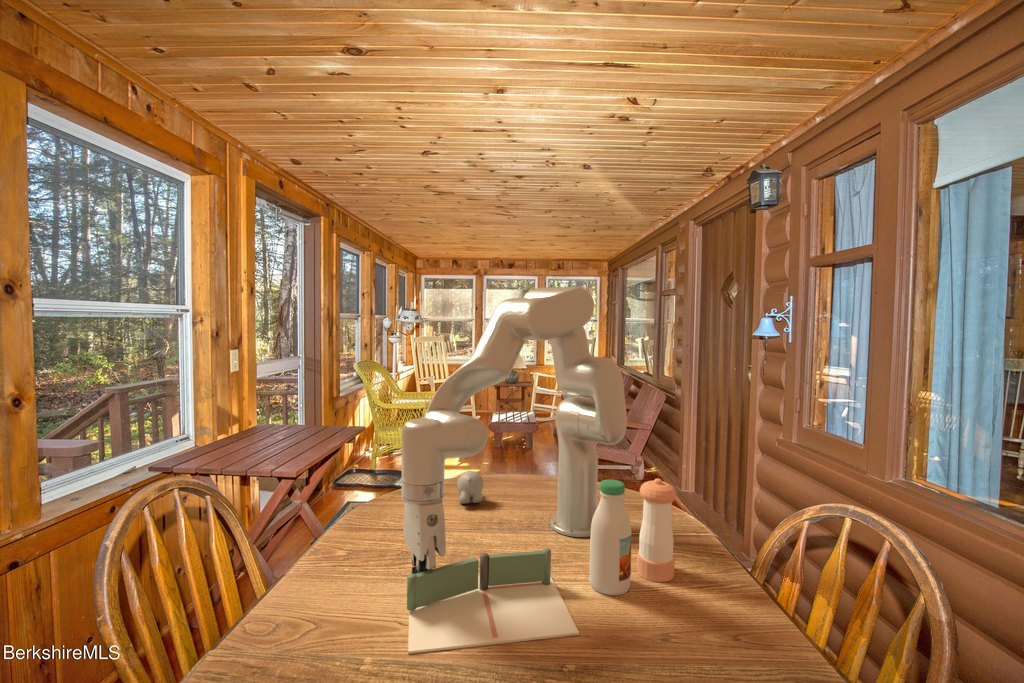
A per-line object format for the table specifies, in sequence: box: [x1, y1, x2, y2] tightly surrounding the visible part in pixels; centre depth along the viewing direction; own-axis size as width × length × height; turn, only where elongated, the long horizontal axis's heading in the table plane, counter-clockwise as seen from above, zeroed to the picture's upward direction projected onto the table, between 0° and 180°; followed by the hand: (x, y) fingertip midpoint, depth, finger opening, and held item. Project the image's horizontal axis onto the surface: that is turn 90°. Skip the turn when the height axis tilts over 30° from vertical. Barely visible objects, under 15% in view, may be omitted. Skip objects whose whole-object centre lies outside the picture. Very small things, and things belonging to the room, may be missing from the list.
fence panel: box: [406, 557, 480, 612], centre depth 87 cm, size 13×2×6 cm, turn 121°
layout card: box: [407, 574, 580, 655], centre depth 86 cm, size 27×20×1 cm
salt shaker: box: [636, 477, 677, 583], centre depth 98 cm, size 7×7×19 cm
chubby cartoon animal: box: [456, 470, 485, 505], centre depth 135 cm, size 7×12×8 cm, turn 8°
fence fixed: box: [479, 547, 552, 591], centre depth 92 cm, size 14×2×7 cm, turn 101°
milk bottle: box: [588, 479, 632, 596], centre depth 93 cm, size 8×8×20 cm
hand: (421, 588), depth 88 cm, fingers closed
